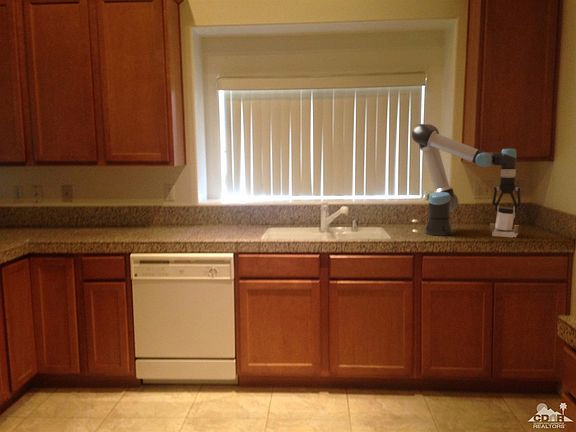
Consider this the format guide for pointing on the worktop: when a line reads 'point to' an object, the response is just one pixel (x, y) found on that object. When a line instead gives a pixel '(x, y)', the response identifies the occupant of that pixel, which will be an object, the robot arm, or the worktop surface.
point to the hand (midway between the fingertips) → (505, 217)
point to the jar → (504, 218)
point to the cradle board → (504, 231)
